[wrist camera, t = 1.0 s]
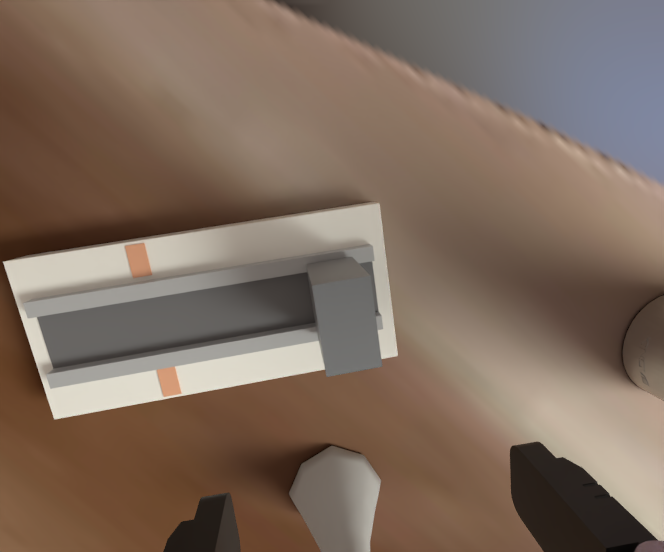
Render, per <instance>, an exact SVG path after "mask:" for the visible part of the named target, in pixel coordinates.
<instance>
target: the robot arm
mask: <svg viewBox="0 0 664 552" xmlns="http://www.w3.org/2000/svg"><path fill="white" fill-rule="evenodd" d="M623 363H624V366H625V369H626V372H627V374H628V375H629V377H630V379H631V380H632V381H633V382H634V383H635V384H636V385H637V386H638V387H640V388H641V389H643V390H645V391H647V392H649V393H650V394H652V395H654V396H656V397H657V398H659V399H661V400H663V401H664V295H662V296H660V297H658V298H656V299H655V300H653V301H652V302H650V303H649V304H648V305H646V306H645V307H644V308H643V309H642V310H641V311H640V312H639V313H638V315H637V316H636V317H635V319H634V320H633V321H632V323H631V325H630V327H629V329H628V331H627V334H626V337H625V340H624V345H623ZM510 469H511V494H512V500H513V503H514V506H515V509H516V511H517V513H518V515H519V516H520V518H521V519H522V521H523V522H524V524H525V525H526V527H527V528H528V530H529V531H530V532H531V534H532V535H533V537H534V538H535V540H536V541H537V542H538V544H539V545H540V547H541V548H542V550H543V551H544V552H664V541H658V540H657V539H656V538H655V537H654V536H653V535H652V534H651V533H650V532H649V531H648V530H647V529H646V528H645V527H644V526H643V525H642V524H640V523H639V522H638V521H637V520H636V519H635V518H634V517H633V516H632V515H631V514H630V513H629V512H628V511H627V510H626V509H625V508H624V507H623V506H622V505H621V504H620V503H619V502H617V501H616V500H615V499H614V498H613V497H610V495H609V493H608V492H607V491H606V490H605V489H604V488H603V487H602V486H601V485H598V484H597V481H596V480H594V479H593V478H592V477H591V476H590V475H589V474H588V473H587V472H586V471H585V470H584V469H583V468H582V467H580V466H578V465H576V464H574V463H572V462H571V461H569V460H567V459H565V458H563V457H562V458H555V457H554V456H553V454H552V453H551V452H550V451H549V450H548V449H547V448H546V447H545V446H544V445H543V444H541V443H540V442H533V443H527V444H521V445H515V446H512V447H511V449H510ZM164 552H240V540H239V535H238V529H237V524H236V519H235V514H234V509H233V504H232V499H231V495H230V493H224V494H218V495H212V496H206V497H202V498H201V499H200V501H199V505H198V508H197V512H196V515H195V518H194V520H189V521H183V522H181V523H180V524H179V526H178V527H177V528H176V529H175V531H174V532H173V533H172V534H171V536H170V537H169V538H168V540H167V543H166V546H165V549H164Z"/></svg>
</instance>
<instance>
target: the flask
mask: <svg viewBox="0 0 664 552" xmlns="http://www.w3.org/2000/svg"><path fill="white" fill-rule="evenodd" d="M380 483H381V480H380V478H379V477H378V475H377V474H376V472H375V471H374V469H373V468H372V466H371V465H370V463H369V462H368V460H367V459H366V458H365V456H364V455H362V454H358V453H355V452H352V451H348V450H345V449H342V448H338V447H335V446H330V447H328V448H327V449H325V450H323V451H322V452H320V453H319V454H317V455H315V456H314V457H312V458H310V459H309V460H307V461H305V462H304V463H302V464H301V466H300V468H299V471H298V473H297V475H296V478H295V480H294V482H293V485H292V487H291V489H290V492H289V495H290V497H291V499H292V501H293V502H294V504H295V506H296V507H297V509H298V511H299V512H300V514H301V516H302V517H303V519H304V521H305V522H306V524H307V526H308V528H309V530H310V531H311V533H312V535H313V537H314V539H315V541H316V543H317V544H318V546H319V548H320V550H321V552H370V538H371V532H372V526H373V520H374V513H375V508H376V503H377V499H378V494H379V489H380Z"/></svg>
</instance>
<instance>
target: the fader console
mask: <svg viewBox="0 0 664 552" xmlns="http://www.w3.org/2000/svg"><path fill="white" fill-rule="evenodd" d="M347 257H353V258H354V259H355V260H356V261H357V262H358V263H359V264H360V265H361V266H362V267H363V268H364V269H365V270H366V271H367V272H368V274H369V275H370V276H371V283H372V290H373V298H374V306H375V314H376V321H377V329H378V337H379V345H380V352H381V359H384V358H389V357H395V356H398V353H397V345H396V336H395V328H394V320H393V311H392V303H391V295H390V286H389V278H388V270H387V261H386V253H385V245H384V236H383V228H382V220H381V211H380V203H376V202H368V203H362V204H355V205H349V206H342V207H336V208H329V209H323V210H317V211H310V212H304V213H297V214H291V215H284V216H278V217H271V218H265V219H259V220H252V221H246V222H239V223H233V224H226V225H220V226H214V227H207V228H201V229H194V230H188V231H181V232H175V233H168V234H162V235H156V236H149V237H143V238H136V239H130V240H123V241H117V242H111V243H104V244H98V245H91V246H85V247H78V248H72V249H65V250H59V251H53V252H46V253H40V254H33V255H27V256H23V257H19V258H16V259H12V260H8V261H4V262H3V263H4V267H5V270H6V273H7V276H8V279H9V282H10V285H11V288H12V291H13V294H14V297H15V300H16V303H17V306H18V309H19V313H20V316H21V319H22V322H23V325H24V328H25V331H26V334H27V337H28V340H29V343H30V346H31V349H32V352H33V356H34V359H35V362H36V365H37V368H38V371H39V374H40V377H41V380H42V383H43V386H44V389H45V392H46V395H47V398H48V402H49V405H50V408H51V411H52V414H53V417H54V419H59V418H64V417H70V416H75V415H81V414H86V413H92V412H97V411H102V410H108V409H113V408H119V407H124V406H129V405H135V404H140V403H146V402H151V401H156V400H162V399H167V398H173V397H178V396H184V395H189V394H194V393H200V392H205V391H211V390H216V389H221V388H227V387H232V386H238V385H243V384H248V383H254V382H259V381H265V380H270V379H276V378H281V377H286V376H292V375H297V374H303V373H308V372H313V371H319V370H324V369H325V367H324V362H323V358H322V353H321V349H320V344H319V340H318V335H317V329H316V323H315V318H314V312H313V306H312V300H311V294H310V288H309V282H308V274H307V267H306V264H310V263H316V262H322V261H328V260H335V259H341V258H347Z"/></svg>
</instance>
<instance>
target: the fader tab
mask: <svg viewBox="0 0 664 552" xmlns="http://www.w3.org/2000/svg"><path fill="white" fill-rule="evenodd" d="M306 267H307V274H308V282H309V288H310V294H311V300H312V306H313V312H314V318H315V323H316V329H317V335H318V340H319V344H320V349H321V353H322V358H323V362H324V367H325V371H326V376H327V377H329V376H334V375H340V374H345V373H350V372H356V371H361V370H367V369H372V368H377V367H382V360H381V352H380V345H379V337H378V329H377V321H376V314H375V306H374V298H373V290H372V283H371V276H370V275H369V274H368V272H367V271H366V270H365V269H364V268H363V267H362V266H361V265H360V264H359V263H358V262H357V261H356V260H355V259H354V258H353V257H347V258H341V259H335V260H328V261H322V262H316V263H310V264H306Z"/></svg>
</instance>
